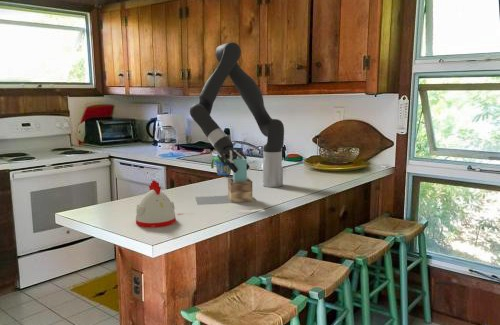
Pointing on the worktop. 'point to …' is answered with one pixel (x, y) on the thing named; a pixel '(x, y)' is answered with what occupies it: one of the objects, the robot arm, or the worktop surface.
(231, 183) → the wooden crate
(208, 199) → the baseplate
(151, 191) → the kitchen timer
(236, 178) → the teal brick
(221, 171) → the snack cup
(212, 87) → the robot arm
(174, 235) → the worktop surface
